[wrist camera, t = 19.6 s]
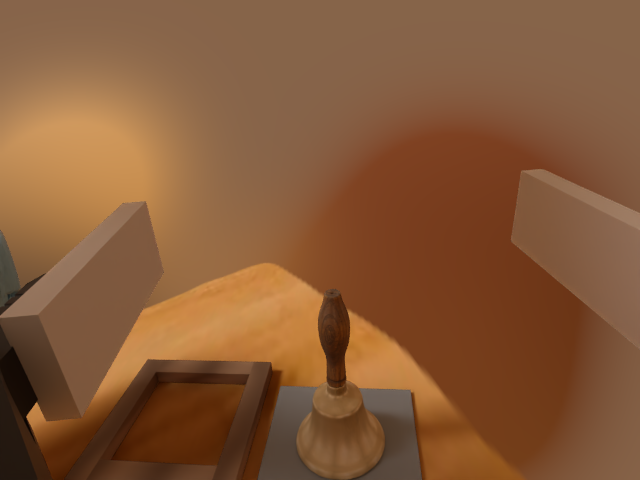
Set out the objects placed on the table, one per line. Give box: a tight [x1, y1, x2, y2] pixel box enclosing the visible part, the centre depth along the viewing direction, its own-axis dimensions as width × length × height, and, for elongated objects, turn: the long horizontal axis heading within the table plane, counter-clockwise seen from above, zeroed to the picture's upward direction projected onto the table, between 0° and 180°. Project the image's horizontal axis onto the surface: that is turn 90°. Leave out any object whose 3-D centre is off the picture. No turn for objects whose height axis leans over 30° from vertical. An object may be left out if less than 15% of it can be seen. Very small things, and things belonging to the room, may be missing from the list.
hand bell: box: [296, 289, 385, 480], centre depth 35 cm, size 8×8×16 cm
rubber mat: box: [257, 386, 422, 480], centre depth 38 cm, size 14×14×1 cm
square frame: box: [64, 359, 272, 480], centre depth 41 cm, size 15×15×2 cm
